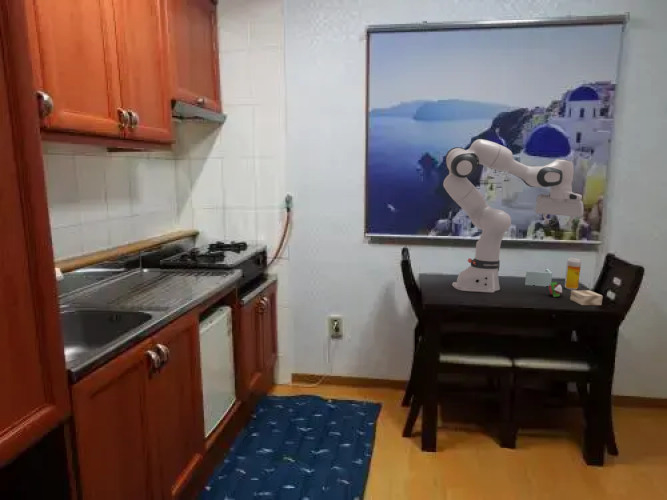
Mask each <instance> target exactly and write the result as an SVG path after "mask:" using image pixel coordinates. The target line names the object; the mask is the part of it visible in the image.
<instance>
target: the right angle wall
mask: <svg viewBox="0 0 667 500" xmlns="http://www.w3.org/2000/svg"><path fill="white" fill-rule="evenodd" d="M552 279H553V273H552V271H551V270H549V268H545V271H544V272H543V271H530V270H526V271H525V281H524V282H525V283H524V284H525V286H533V285H535V286H534V287H546V286H549V285H550V286H551V283H550V282H552Z"/></svg>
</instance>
